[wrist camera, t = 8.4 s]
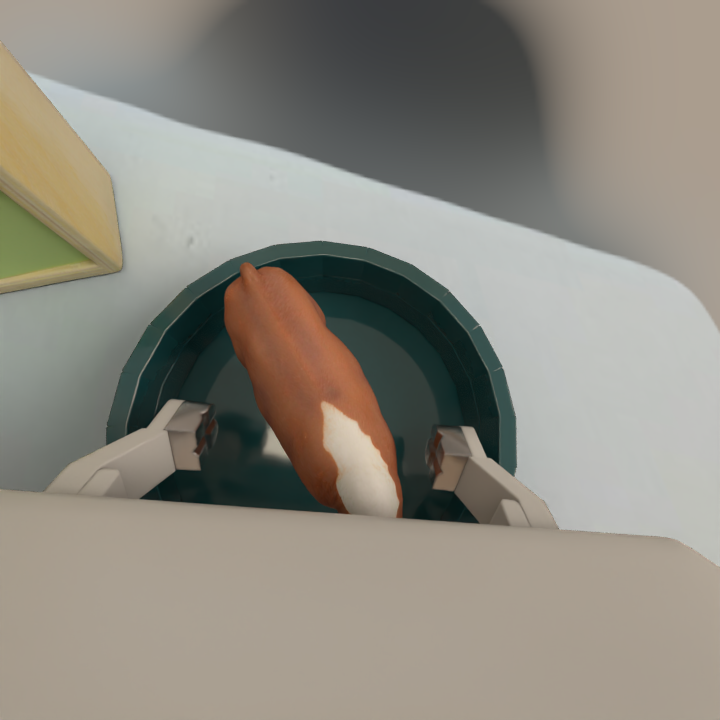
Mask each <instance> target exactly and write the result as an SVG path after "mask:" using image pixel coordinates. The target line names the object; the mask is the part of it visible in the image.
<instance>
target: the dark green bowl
mask: <svg viewBox="0 0 720 720" xmlns="http://www.w3.org/2000/svg"><path fill="white" fill-rule="evenodd" d="M245 262H248V263H250V264H252V265H253V266H254V268H255V269H256V270H258V269H260V268H262V267H278V268H281V269H283V270H284V271H286V272H287V273H289V274H290V275H291V276H293V277H294V278H295V279H296V280H297V282H298V283H299V284H300V285H301V286H302V287H303V288H304V289H305V290H306V291H307V292H308V293H309V294H310V296H311V297H312V298H313V299H314V300H315V301H316V303H317V304H318V305H319V307H320V308H321V310H322V312H323V313H324V316H325V320H326V327H327V328H328V329H329V330H330V331H331V332H332V333H333V334H334V335H335V336H336V337H338V338H339V339H340V340H341V341H342V342H343V343H344V345H345V346H346V347H347V348H348V349H349V350H350V352H351V353H352V354H353V355H354V357H355V358H356V359H357V361H358V363H359V364H360V366H361V369H362V371H363V373H364V375H365V377H366V379H367V381H368V382H369V384H370V386H371V388H372V390H373V392H374V395H375V397H376V399H377V402H378V405H379V408H380V412H381V414H382V416H383V418H384V420H385V422H386V423H387V425H388V427H389V430H390V432H391V434H392V436H393V439H394V443H395V447H396V456H397V474H398V477H399V479H400V484H401V489H402V496H403V506H402V518H406V519H419V520H434V521H448V522H462V523H476V524H480V523H479V522H478V520H477V519H476V518H475V517H474V516H473V514H472V513H471V512H470V511H469V510H468V508H467V507H466V506H465V505H464V504H463V502H462V501H461V500H460V499H459V498H458V496H457V495H456V494H455V493H454V491H445V490H435V489H432V486H431V482H430V478H429V472H430V468H429V467H428V466H427V464H426V459H425V449H426V444H427V441H428V440H429V439H430V438H431V433H430V431H431V428H432V426H433V424H440V425H451V426H468V427H473V428H474V430H475V432H476V434H477V436H478V439H479V441H480V443H481V445H482V448H483V450H484V452H485V454H486V457H487V458H491V459H492V460H493V461H495V462H496V463H497V464H498V465H500V466H501V467H502V468H503V469H505V470H506V471H507V472H508V473H510V474H511V475H512V476H513V477H514V476H515V472H516V468H517V446H516V416H515V411H514V408H513V404H512V400H511V396H510V392H509V389H508V385H507V381H506V377H505V373H504V370H503V369H502V365H501V363H500V361H499V359H498V357H497V355H496V354H495V352H494V350H493V348H492V346H491V344H490V342H489V341H488V339H487V337H486V335H485V333H484V331H483V329H482V328H481V326H479V324H478V323H477V321H476V320H475V319H474V318H473V317H472V316H471V315H470V314H469V312H468V311H467V310H466V309H465V308H464V307H463V306H462V305H461V304H460V302H459V301H458V300H457V299H456V298H455V297H454V296H453V295H452V293H451V292H448V291H449V290H448V289H446V288H445V287H444V286H442V285H441V284H439V283H438V282H436V281H435V280H434V279H432V278H431V277H429V276H428V275H426V274H425V273H423V272H422V271H421V270H419V269H418V268H416V267H415V266H413V265H412V264H409V263H407V262H404V261H402V260H399V259H397V258H394V257H392V256H389V255H387V254H384V253H382V252H379V251H376V250H374V249H371V248H367V247H362V246H355V245H348V244H341V243H334V242H327V241H323V242H322V241H312V242H301V243H289V244H278V245H276V246H275V245H273V246H270V247H266V248H263V249H260V250H257V251H254V252H251V253H248V254H245V255H242V256H239V257H236V258H233V259H230V260H229V261H227V262H225V263H224V264H222V265H220V266H219V267H217V268H216V269H214V270H212V271H211V272H209V273H207V274H206V275H204V276H203V277H201V278H199V279H198V280H196V281H195V282H193V283H191V284H190V285H188V286H187V288H185V289H184V290H183V291H182V292H181V293H180V294H179V295H178V296H177V297H176V298H175V299H174V300H173V301H172V302H171V303H170V304H169V305H168V306H167V307H166V308H165V309H164V310H163V311H162V312H161V313H160V314H159V315H158V316H157V317H156V318H155V319H154V320H153V321H152V322H151V325H148V327H147V329H146V330H145V332H144V334H143V336H142V337H141V339H140V341H139V342H138V344H137V346H136V348H135V349H134V351H133V353H132V354H131V356H130V358H129V359H128V361H127V363H126V365H125V366H124V368H123V370H122V371H123V372H122V373H121V376H120V379H119V383H118V386H117V390H116V394H115V397H114V401H113V404H112V408H111V411H110V415H109V419H108V422H107V426H108V427H107V428H106V446H107V445H109V444H111V443H113V442H115V441H117V440H119V439H121V438H123V437H125V436H127V435H129V434H131V433H133V432H135V431H137V430H139V429H141V428H147V427H148V426H149V424H150V423H151V422H152V421H153V419H154V418H155V417H156V415H157V414H158V413H159V412H160V410H161V409H162V408H163V406H164V405H165V404H166V403H167V401H168V400H170V399H177V400H185V401H186V400H188V401H197V402H205V403H213V404H214V405H215V408H216V414H215V415H214V417H213V418H214V419H215V420H216V421H217V424H218V431H217V437H216V441H215V443H214V445H213V447H212V448H210V449H209V450H207V453H208V457H207V459H206V461H205V463H204V465H203V467H202V469H201V471H194V470H175V472H173V473H172V474H171V475H170V476H168V477H167V478H166V479H164V480H163V481H162V482H160V483H159V484H158V485H156V486H155V487H154V488H153V489H151V490H150V491H149V492H147V493H146V494H145V495H143V496H142V497H141V498H140V499H144V500H157V501H171V502H185V503H199V504H213V505H227V506H240V507H254V508H268V509H282V510H296V511H310V512H324V513H338V511H337V510H336V509H334V508H330V507H327V506H324V505H322V504H321V503H319V502H318V501H317V500H316V499H315V498H314V497H313V496H312V495H311V493H310V492H309V491H308V489H307V488H306V486H305V485H304V484H303V482H302V481H301V479H300V477H299V476H298V474H297V472H296V471H295V469H294V467H293V465H292V463H291V461H290V459H289V458H288V456H287V454H286V453H285V451H284V449H283V448H282V446H281V444H280V442H279V440H278V439H277V437H276V435H275V434H274V432H273V430H272V428H271V427H270V425H269V424H268V423H267V421H266V420H265V418H264V417H263V416H262V414H261V412H260V410H259V408H258V406H257V403H256V400H255V396H254V391H253V386H252V382H251V380H250V377H249V374H248V371H247V369H246V368H245V367H244V366H243V365H242V364H241V362H240V361H239V359H238V358H237V355H236V353H235V350H234V347H233V344H232V341H231V338H230V336H229V334H228V332H227V329H226V326H225V321H224V313H225V304H224V296H225V291H226V289H227V287H228V286H229V285H230V284H231V283H232V282H234V281H235V280H236V279H237V278H239V277H240V276H241V274H240V266H241V265H242V264H243V263H245ZM338 514H339V513H338Z"/></svg>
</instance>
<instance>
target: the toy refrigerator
mask: <svg viewBox="0 0 720 720" xmlns="http://www.w3.org/2000/svg"><path fill="white" fill-rule="evenodd" d="M122 265H123V259H122V249H121V241H120V235H119V228H118V221H117V214H116V207H115V200H114V194H113V188H112V182H111V178H110V175H109V173H108V172H107V171H106V169H105V168H104V167H103V166H102V164H101V163H100V162H99V161H98V160H97V158H96V157H95V156H94V155H93V153H92V152H91V151H90V150H89V148H88V147H87V146H86V145H85V143H84V142H83V141H82V140H81V139H80V137H79V136H78V135H77V134H76V132H75V131H74V130H73V129H72V128H71V126H70V125H69V124H68V123H67V121H66V120H65V119H64V118H63V116H62V115H61V114H60V113H59V111H58V110H57V109H56V108H55V106H54V105H53V104H52V103H51V102H50V100H49V99H48V98H47V97H46V96H45V94H44V93H43V92H42V91H41V89H40V88H39V87H38V86H37V85H36V83H35V82H34V81H33V80H32V79H31V77H30V76H29V75H28V74H27V73H26V71H25V70H24V69H23V68H22V66H21V65H20V64H19V63H18V61H17V60H16V59H15V58H14V56H13V55H12V54H11V53H10V51H9V50H8V49H7V48H6V47H5V45H4V44H3V43H2V42H1V41H0V294H2V293H7V292H12V291H18V290H22V289H28V288H33V287H38V286H43V285H49V284H54V283H59V282H64V281H69V280H75V279H80V278H86V277H91V276H97V275H102V274H108V273H113V272H118V271H120V270H121V269H122Z"/></svg>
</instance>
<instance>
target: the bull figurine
mask: <svg viewBox="0 0 720 720" xmlns="http://www.w3.org/2000/svg"><path fill="white" fill-rule="evenodd" d="M240 274H241V276H240V277H239V278H237V279H236V280H235V281H234V282H232V283H231V284H230V285H229V286H228V287H227V289H226V291H225V296H224V304H225V313H224V321H225V326H226V329H227V332H228V334H229V336H230V338H231V341H232V344H233V347H234V350H235V353H236V355H237V358H238V359H239V361H240V362H241V364H242V365H243V366H244V367H245V368H246V369H247V371H248V374H249V377H250V380H251V382H252V386H253V391H254V396H255V400H256V403H257V406H258V408H259V410H260V412H261V414H262V416H263V417H264V418H265V420H266V421H267V423H268V424H269V425H270V427H271V428H272V430H273V432H274V434H275V435H276V437H277V439H278V440H279V442H280V444H281V446H282V448H283V449H284V451H285V453H286V454H287V456H288V458H289V459H290V461H291V463H292V465H293V467H294V469H295V471H296V472H297V474H298V476H299V477H300V479H301V481H302V482H303V484H304V485H305V486H306V488H307V489H308V491H309V492H310V493H311V495H312V496H313V497H314V498H315V499H316V500H317V501H318V502H319V503H321V504H322V505H324V506H327V507H330V508H334V509H336V510H337V511H338V513H339V514H352V515H365V516H379V517H392V518H402V506H403V496H402V489H401V484H400V479H399V477H398V474H397V456H396V447H395V443H394V439H393V436H392V434H391V432H390V430H389V427H388V425H387V423H386V422H385V420H384V418H383V416H382V414H381V412H380V408H379V405H378V402H377V399H376V397H375V395H374V392H373V390H372V388H371V386H370V384H369V382H368V381H367V379H366V377H365V375H364V373H363V371H362V369H361V366H360V364H359V363H358V361H357V359H356V358H355V357H354V355H353V354H352V353H351V352H350V350H349V349H348V348H347V347H346V346H345V345H344V343H343V342H342V341H341V340H340V339H339V338H338V337H336V336H335V335H334V334H333V333H332V332H331V331H330V330H329V329H328V328H327V327H326V320H325V316H324V313H323V312H322V310H321V308H320V307H319V305H318V304H317V303H316V301H315V300H314V299H313V298H312V297H311V296H310V294H309V293H308V292H307V291H306V290H305V289H304V288H303V287H302V286H301V285H300V284H299V283H298V282H297V280H296V279H295V278H294V277H293V276H291V275H290V274H289V273H287V272H286V271H284V270H283V269H281V268H278V267H262V268H260V269H258V270H256V269H255V268H254V266H253V265H252V264H250V263H248V262H245V263H243V264H242V265H241V266H240Z"/></svg>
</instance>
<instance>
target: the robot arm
mask: <svg viewBox="0 0 720 720" xmlns="http://www.w3.org/2000/svg"><path fill="white" fill-rule="evenodd" d="M215 414H216V408H215V405H214V404H213V403H205V402H197V401H188V400H186V401H185V400H177V399H170V400H168V401H167V403H166V404H165V405H164V406H163V408H162V409H161V410H160V412H159V413H158V414H157V415H156V417H155V418H154V419H153V421H152V422H151V423H150V424H149V426H148V427H147V428H141V429H139V430H137V431H135V432H133V433H131V434H129V435H127V436H125V437H123V438H121V439H119V440H117V441H115V442H113V443H111V444H109V445H107V446H104V447H102V448H100V449H98V450H96V451H94V452H92V453H90V454H88V455H86V456H84V457H82V458H80V459H78V460H76V461H74V462H72V463H70V464H68V465H67V466H66V467H65V468H64V469H63V470H62V472H61V473H60V474H59V475H58V476H57V477H56V478H55V479H54V480H53V481H52V482H51V483H50V484H49V485H48V486H47V487H46V489H45V490H44V491H43V492H34V491H20V490H6V489H0V720H720V567H719V566H717V565H716V564H714V563H713V562H711V561H710V560H708V559H707V558H706V557H704V556H703V555H701V554H700V553H698V552H697V551H695V550H693V549H692V548H690V547H688V546H687V545H685V544H683V543H682V542H680V541H678V540H675V539H671V538H667V537H658V536H642V535H628V534H614V533H601V532H587V531H573V530H559V528H558V526H557V524H556V522H555V520H554V518H553V517H552V515H551V513H550V511H549V509H548V507H547V506H546V504H545V502H544V501H543V500H542V499H540V498H539V497H538V496H537V495H536V494H534V493H533V492H532V491H531V490H529V489H528V488H527V487H526V486H524V485H523V484H522V483H521V482H519V481H518V480H517V479H516V478H514V477H513V476H512V475H511V474H510V473H508V472H507V471H506V470H505V469H503V468H502V467H501V466H500V465H498V464H497V463H496V462H495V461H493V460H492V459H491V458H487V457H486V454H485V452H484V450H483V448H482V445H481V443H480V441H479V439H478V436H477V434H476V432H475V430H474V428H473V427H468V426H451V425H440V424H433V426H432V428H431V431H430V433H431V438H430V439H429V440H428V441H427V444H426V449H425V459H426V464H427V466H428V467H429V468H430V472H429V478H430V482H431V486H432V489H435V490H445V491H454V493H455V494H456V495H457V496H458V498H459V499H460V500H461V501H462V502H463V504H464V505H465V506H466V507H467V508H468V510H469V511H470V512H471V513H472V514H473V516H474V517H475V518H476V519H477V520H478V522H479V523H480V524H476V523H462V522H448V521H434V520H419V519H406V518H392V517H379V516H365V515H352V514H338V513H324V512H310V511H296V510H282V509H268V508H254V507H240V506H227V505H213V504H199V503H185V502H171V501H157V500H144V499H140V498H141V497H142V496H143V495H145V494H146V493H147V492H149V491H150V490H151V489H153V488H154V487H155V486H156V485H158V484H159V483H160V482H162V481H163V480H164V479H166V478H167V477H168V476H170V475H171V474H172V473H173V472H175V470H194V471H201V469H202V467H203V465H204V463H205V461H206V459H207V457H208V453H207V450H209V449H210V448H212V447H213V445H214V443H215V441H216V437H217V431H218V424H217V421H216V420H215V419H214V418H213V417H214V415H215Z"/></svg>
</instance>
